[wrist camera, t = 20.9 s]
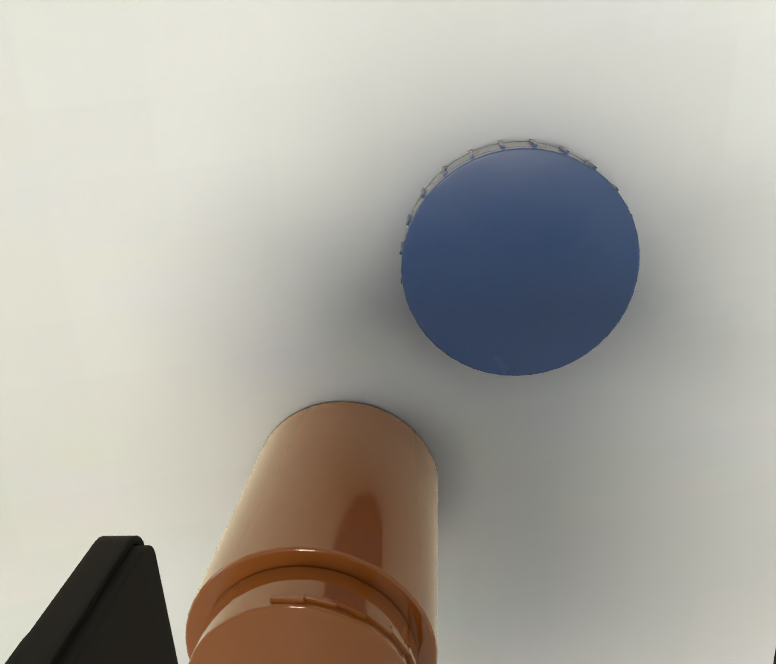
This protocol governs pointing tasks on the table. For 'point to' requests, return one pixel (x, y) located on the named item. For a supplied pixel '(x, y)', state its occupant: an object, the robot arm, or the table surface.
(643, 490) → the table surface
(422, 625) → the jam jar
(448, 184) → the jar lid
